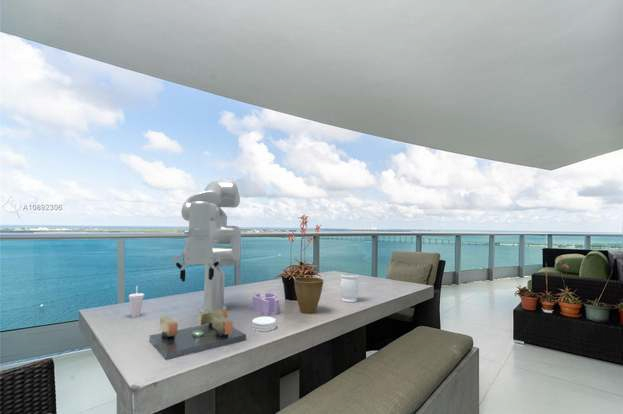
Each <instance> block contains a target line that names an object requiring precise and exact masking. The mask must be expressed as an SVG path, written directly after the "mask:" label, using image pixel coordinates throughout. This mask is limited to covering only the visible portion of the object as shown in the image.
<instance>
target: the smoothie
mask: <svg viewBox="0 0 623 414" xmlns="http://www.w3.org/2000/svg"><path fill="white" fill-rule="evenodd" d="M138 288H139V285H136V287H135V290H136V291H135V293H130V294H129V295H128V299H129V313H130V317H131V318H138V317H140V316H141V312H142V307H143V301H144V297H145V293H142V292H140V293H139V292H138Z"/></svg>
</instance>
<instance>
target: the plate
mask: <svg viewBox="0 0 623 414" xmlns="http://www.w3.org/2000/svg"><path fill="white" fill-rule="evenodd" d="M246 340H247V334H245V333H244V332H242V331H241V330H239V329H237V328H235V327H233V326H232V333H231V334H228V335H226V336H217V335H216V329H215V328H213V327H210V326H208V324H204V325H196V326H192V327H186V328H182V329H177V335H175V336H174V337H171V338H163V337H162V332H161V333H160V332H159V333H155V334H152V335H149V342H150V343H151V345H152V346H153V348H155V349H156V350H157V352H159V354H160V355H161V357H163V358H164V359H165V360H171V359H174V358H178V357H181V356H182V357H183V356H186V355H187V356H188V355H191V354H195V353H199V352H203V351H207V350H210V349H211V350H212V349H215V348H219V347H223V346H226V345H230V344H234V343H235V344H236V343H239V342H242V341H243V342H244V341H246Z"/></svg>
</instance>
